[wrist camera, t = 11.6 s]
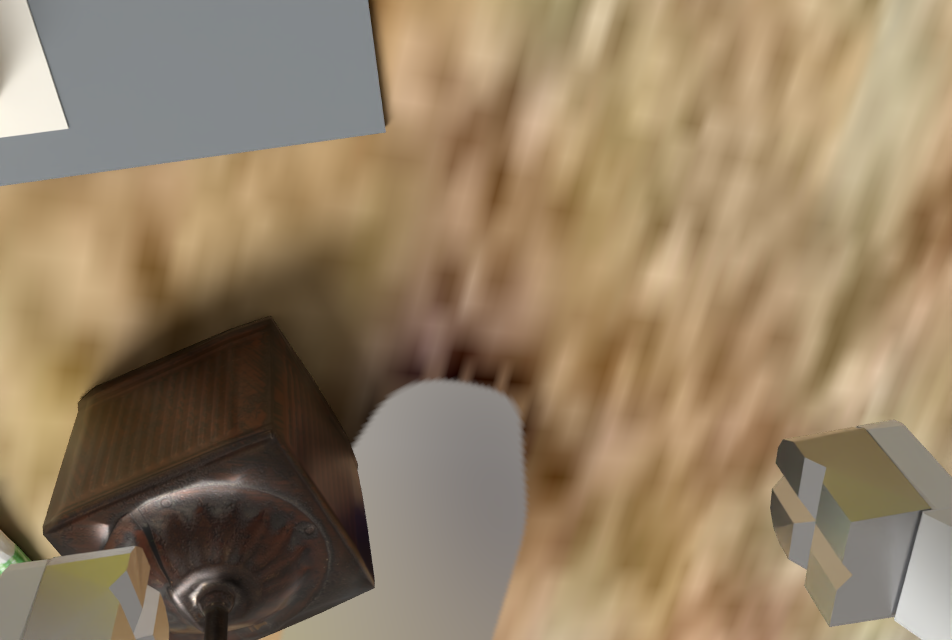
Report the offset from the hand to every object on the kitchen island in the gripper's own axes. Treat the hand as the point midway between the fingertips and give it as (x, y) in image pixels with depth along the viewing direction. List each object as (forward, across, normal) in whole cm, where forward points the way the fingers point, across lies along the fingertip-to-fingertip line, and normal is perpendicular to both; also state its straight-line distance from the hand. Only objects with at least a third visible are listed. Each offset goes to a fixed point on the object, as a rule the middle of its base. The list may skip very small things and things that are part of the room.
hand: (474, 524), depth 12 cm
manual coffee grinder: (+29, +9, +22) cm, 38 cm away
